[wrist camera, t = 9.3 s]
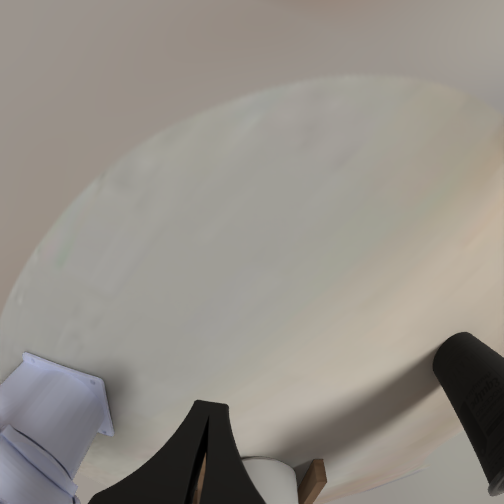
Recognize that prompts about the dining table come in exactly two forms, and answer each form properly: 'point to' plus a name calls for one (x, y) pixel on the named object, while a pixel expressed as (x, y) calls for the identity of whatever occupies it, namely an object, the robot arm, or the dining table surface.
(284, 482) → the can
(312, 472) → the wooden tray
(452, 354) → the drinking cup
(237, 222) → the dining table surface
